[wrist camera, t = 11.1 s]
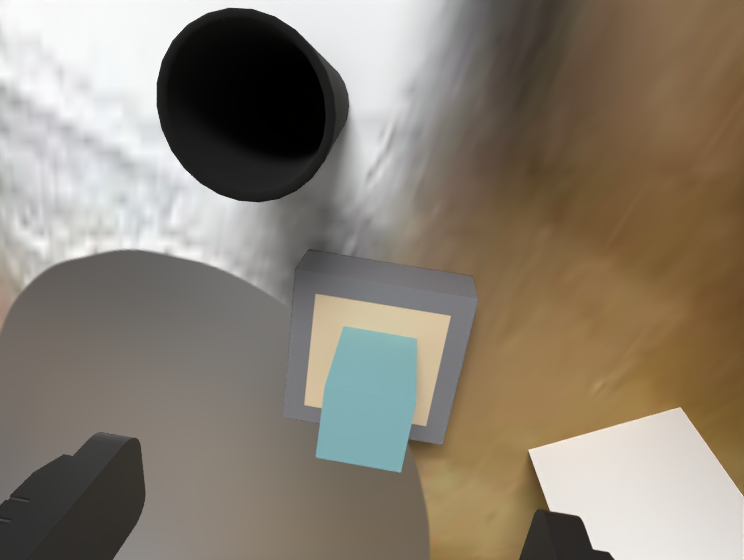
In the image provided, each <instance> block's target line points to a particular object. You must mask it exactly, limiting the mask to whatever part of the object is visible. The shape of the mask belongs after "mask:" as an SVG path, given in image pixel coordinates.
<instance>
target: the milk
mask: <svg viewBox="0 0 744 560" xmlns="http://www.w3.org/2000/svg"><path fill="white" fill-rule="evenodd" d="M528 451H529V454H530V457H531V459H532V462H533V465H534V468H535V471H536V473H537V476H538V479H539V482H540V484H541V487H542V490H543V493H544V495H545V498H546V501H547V504H548V507H549V509H550V511H553V512H559V513H565V514H571V515H576V516H579V517H580V518H581V519H582V521H583V523H584V525H585V528H586V531H587V534H588V536H589V539H590V542H591V545H592V548H593V549H594V550H600V551H606V552H609V553H610V554H611V555H612V557H613V558H614V559H615V560H744V497H743V495H742V494H741V492H740V491H739V490H738V488H737V487H736V485H735V484H734V482H733V481H732V480H731V478H730V477H729V475H728V474H727V472H726V471H725V470H724V468H723V467H722V465H721V464H720V463H719V461H718V460H717V458H716V457H715V455H714V454H713V453H712V451H711V450H710V448H709V447H708V446H707V444H706V443H705V441H704V440H703V438H702V437H701V436H700V434H699V433H698V431H697V430H696V429H695V427H694V426H693V424H692V423H691V421H690V420H689V419H688V417H687V416H686V414H685V413H684V411H683V410H682V409H681V407H679V408H676V409H672V410H669V411H665V412H662V413H658V414H654V415H651V416H647V417H644V418H640V419H637V420H633V421H630V422H626V423H623V424H619V425H616V426H612V427H608V428H605V429H601V430H598V431H594V432H591V433H587V434H584V435H580V436H577V437H573V438H570V439H566V440H562V441H559V442H555V443H552V444H548V445H545V446H541V447H538V448H534V449H531V450H528Z"/></svg>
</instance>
